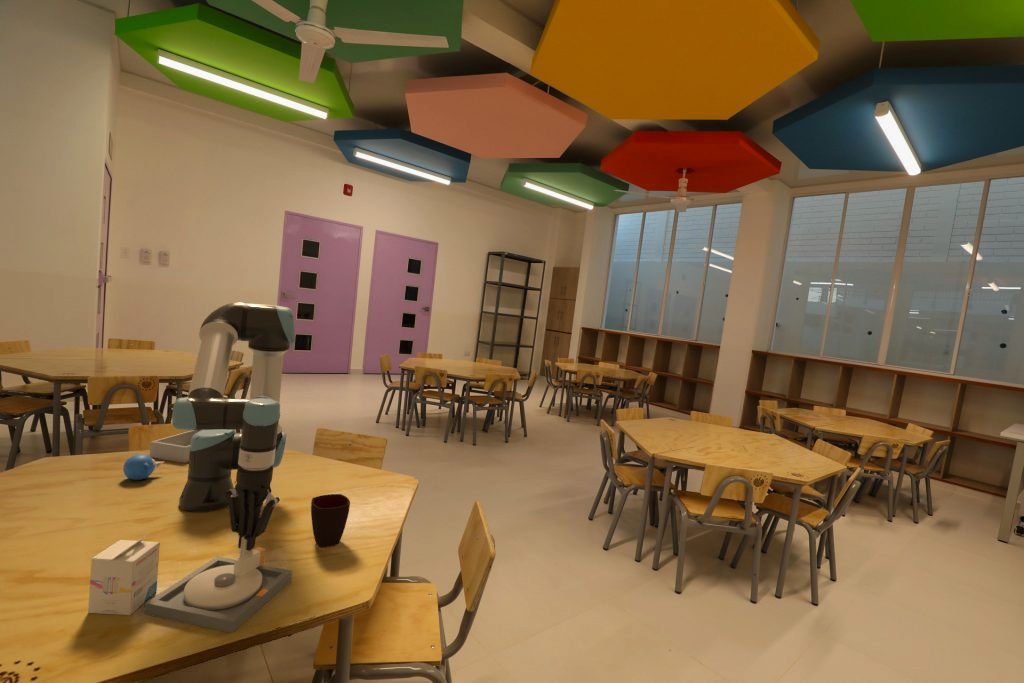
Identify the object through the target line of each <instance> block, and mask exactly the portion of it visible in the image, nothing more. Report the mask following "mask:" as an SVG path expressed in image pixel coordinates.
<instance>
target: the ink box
mask: <svg viewBox="0 0 1024 683" xmlns="http://www.w3.org/2000/svg"><path fill="white" fill-rule="evenodd" d="M147 536H148V534H146V535H144V536H142V537H141V538H139V539H138V540H135V539H134V540H132V539H123V538H122V539H119V540H117V541H116V542H114V543H113V544H111V545H110V546H109V547H106V548H105V549H104V550H101V552H99V553H98V554H96V555H95V556H93V557H92V558H91V564H90V581H89V594H88V596H89V598H88V609H87V610H88V612H87V613H88V614H101V615H102V614H103V615H120V616H121V615H122V616H131V615H133V613H135V611H137V610H138V609H139V608H141V607H142V605H143V604H145V603H146V602H147V601H148V600H150V599H151V597H152V596H153V595H154V594H155V593H157V587H158V576H159V563H160V562H159V560H160V546H161V541H150V540H149V541H147V540H145V541H144V538H146V537H147Z"/></svg>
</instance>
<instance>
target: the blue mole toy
mask: <svg viewBox="0 0 1024 683" xmlns="http://www.w3.org/2000/svg"><path fill="white" fill-rule="evenodd" d="M165 463H166V462H165V461H156V460H155V458H154V459H153V458H152V457H150V455H149V454H145V453H140V454H134V455H132V456H130V457H129V458H128V459H127V460H126V461H125V462H124V464H123V466H122V467H123V468H122V470H123V475H124V476H125V477H126V478H128V479H129V480H133V481H140V480H143V479H146V478H148V477H150V476H151V475H152V474H153V473H154V471H155V470H156V469H157V468H159V467H160V466H162V465H164V464H165Z"/></svg>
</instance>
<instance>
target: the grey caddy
mask: <svg viewBox="0 0 1024 683" xmlns="http://www.w3.org/2000/svg"><path fill="white" fill-rule="evenodd" d="M199 431H202V430H186V431H185V432H181V433H177V434H173V435H169V436H166V437H163V438H159V439H155V440H152V441H150V448H149V456H150V457H151V458H152V459H153V458H154V459H159V460H165V461H171V462H177V463H189V455H190V451H189V448H190V443H191V438H192V436H193V435H194V434H195V433H197V432H199Z"/></svg>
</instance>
